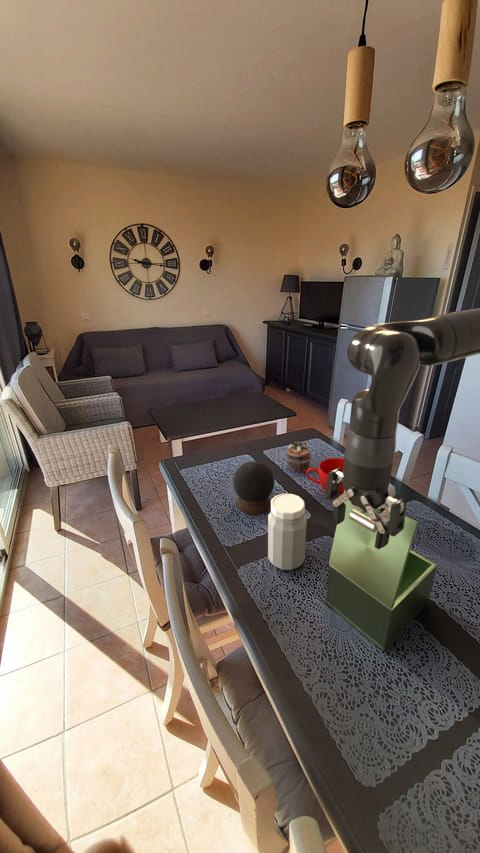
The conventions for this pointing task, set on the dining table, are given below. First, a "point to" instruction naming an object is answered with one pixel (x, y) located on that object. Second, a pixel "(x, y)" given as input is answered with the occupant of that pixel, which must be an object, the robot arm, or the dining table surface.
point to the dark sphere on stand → (253, 487)
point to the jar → (287, 532)
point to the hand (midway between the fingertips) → (358, 533)
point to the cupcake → (298, 457)
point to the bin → (372, 613)
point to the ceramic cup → (323, 472)
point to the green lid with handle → (371, 554)
